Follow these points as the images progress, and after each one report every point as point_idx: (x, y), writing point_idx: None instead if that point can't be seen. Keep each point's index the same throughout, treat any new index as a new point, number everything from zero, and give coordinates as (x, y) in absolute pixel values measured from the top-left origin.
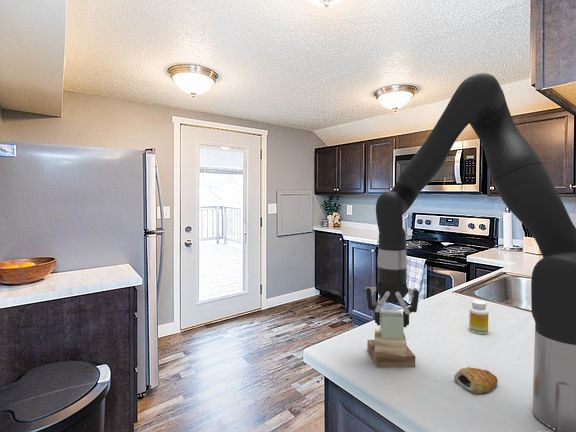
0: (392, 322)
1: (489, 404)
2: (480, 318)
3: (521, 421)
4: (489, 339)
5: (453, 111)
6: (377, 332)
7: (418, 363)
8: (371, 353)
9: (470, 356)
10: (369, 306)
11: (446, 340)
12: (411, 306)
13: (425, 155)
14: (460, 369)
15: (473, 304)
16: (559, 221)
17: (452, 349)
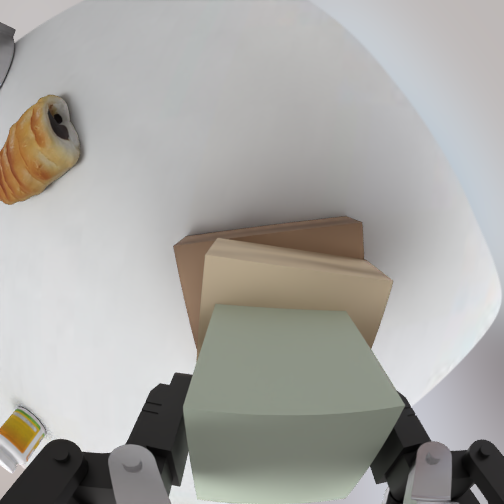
0: (298, 377)
1: (55, 67)
2: (8, 431)
3: (38, 36)
4: (11, 386)
5: None
6: None
7: (168, 264)
8: None
9: (29, 316)
10: (494, 455)
11: (79, 402)
12: (90, 500)
13: None
14: (44, 167)
15: (9, 463)
16: None
17: (63, 357)
